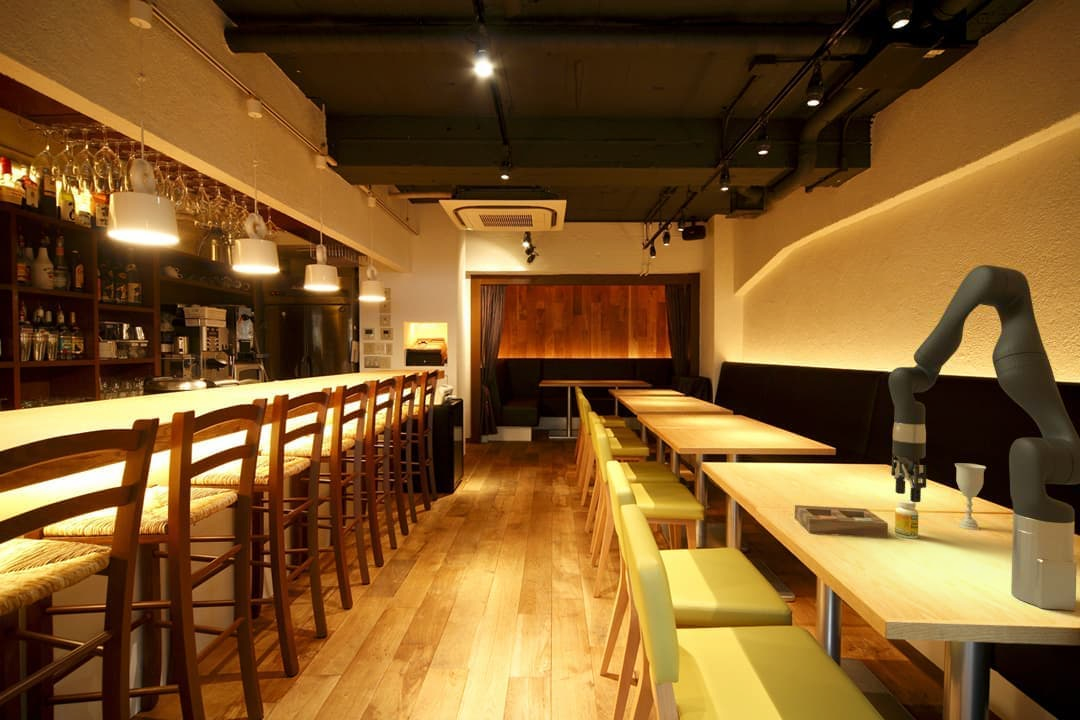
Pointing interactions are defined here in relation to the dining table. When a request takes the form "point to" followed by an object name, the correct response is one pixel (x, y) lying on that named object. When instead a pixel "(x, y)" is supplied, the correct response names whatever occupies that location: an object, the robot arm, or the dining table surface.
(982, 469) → the chalice
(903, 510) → the supplement bottle
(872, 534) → the socket block
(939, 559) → the dining table surface
